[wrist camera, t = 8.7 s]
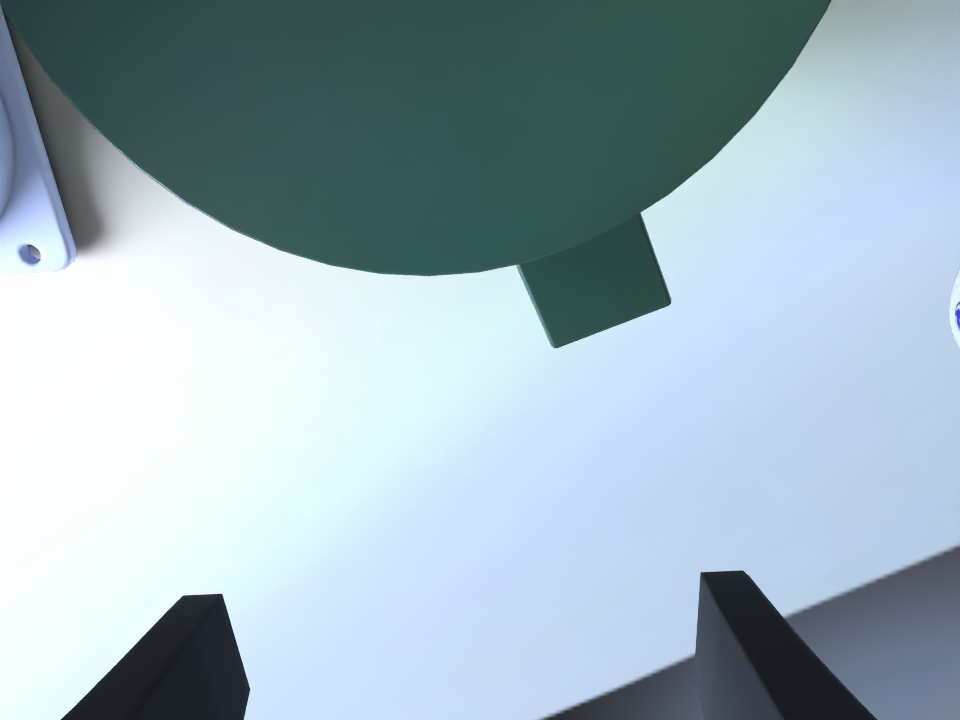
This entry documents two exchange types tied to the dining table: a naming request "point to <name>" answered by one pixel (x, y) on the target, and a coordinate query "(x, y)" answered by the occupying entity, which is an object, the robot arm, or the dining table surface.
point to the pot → (596, 283)
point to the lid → (418, 112)
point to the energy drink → (955, 309)
